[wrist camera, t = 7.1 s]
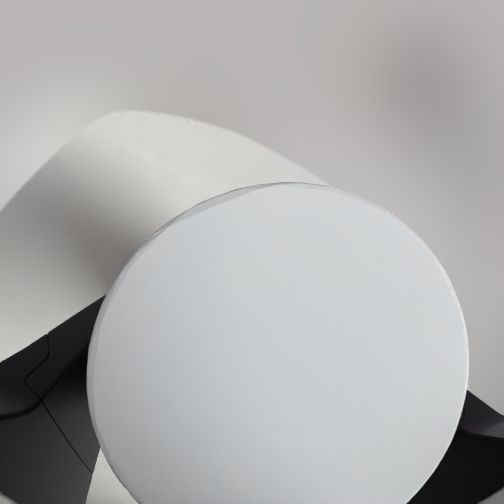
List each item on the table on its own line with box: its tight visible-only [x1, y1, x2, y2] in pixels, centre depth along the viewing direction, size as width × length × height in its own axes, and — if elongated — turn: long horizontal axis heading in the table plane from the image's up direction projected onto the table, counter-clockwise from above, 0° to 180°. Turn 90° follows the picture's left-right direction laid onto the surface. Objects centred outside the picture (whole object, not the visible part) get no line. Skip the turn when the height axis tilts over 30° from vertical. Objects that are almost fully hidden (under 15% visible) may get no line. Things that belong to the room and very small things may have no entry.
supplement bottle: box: [87, 182, 469, 504], centre depth 9 cm, size 7×7×13 cm
